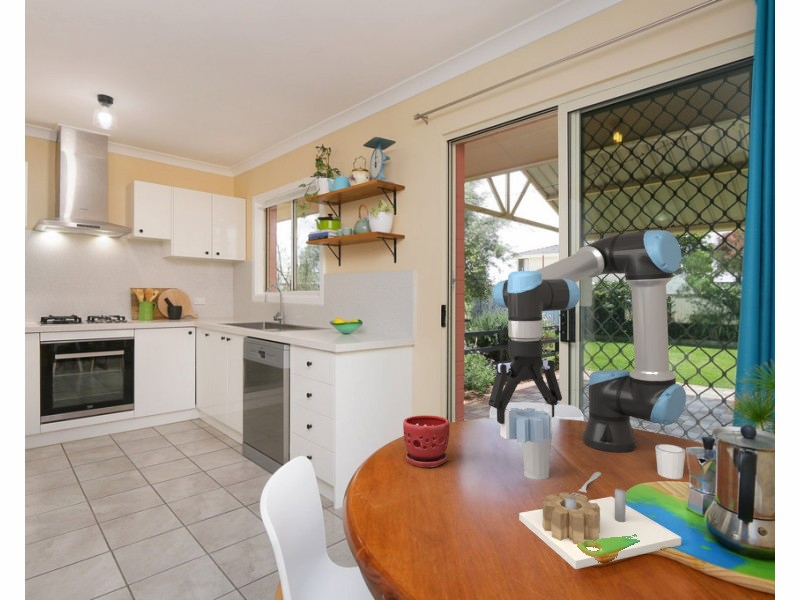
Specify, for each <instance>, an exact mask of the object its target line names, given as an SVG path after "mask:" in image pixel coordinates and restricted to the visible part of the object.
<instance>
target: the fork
mask: <svg viewBox="0 0 800 600" xmlns="http://www.w3.org/2000/svg"><path fill="white" fill-rule="evenodd" d="M601 475H602V472H600V471H596V472H594V473H593V474H592V475H591V476H590V477H589V479H588V480H587V481H586V482H585V483H584V484H583V485H582V486H581V487H580V488H579V489H578V490H577V491H579V492H583V493H585V494H586V493H588V492H587V486H588V485H589V484H590V483H592V482H593V481H595V480H597V479H598V478H599V477H600V476H601ZM569 495H570V496H572V497H575V496H576V497H578V496H579V495H581V496H584V497H587V495H583V494H580V493H576V492H572V493H571V494H570V493H569Z"/></svg>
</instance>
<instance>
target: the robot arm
mask: <svg viewBox="0 0 800 600" xmlns="http://www.w3.org/2000/svg"><path fill="white" fill-rule="evenodd" d="M681 263H682V250H681V246H680V244H679V241H678V240H677V238H676V237H675V235H674V234H672V233H671V232H670V231H668V230H665V229H663V230H662V229H661V230H660V229H659V230H658V229H657V230H656V229H655V230H654V229H653V230H652V229H650V230H645V231H637V232H628V233H619V234H618V233H617V234H613V235H609V236H607V237H604V238H601V239H599V240H596V241H594V242H592V243H589V244H587V245H584V246H582V247H580V248H579V249H578V250H577V251H576V253H575V254H571V255H570V256H567V257H565V258H562V259H560V260H557V261H555V262H553V263H550V264H548V265H546V266H544V267H541V268H539V269H536V270H525V271H524V270H521V271H520V270H519V271H511V272H510V273H509V274H508V276H507V279H505V280H499V281H498V282H497V283H496V284H495V285H494V287H493V290H492V297H493V301H494V303H495V304H496V306H498V307H500V308H504V309H507V327H508V329H507V330H508V332H507V333H508V337H509V340H508V342H507V343H508V347H507V348H508V356H509V359H508V362H506V363H501V362H497V363H496V364H495V367H496V374H495V378H494V382H493V385H492V389H491V392H490V397H489V401H488V405H489V406H491V407H492V408H494V409H496V421H497V423H499V429H500V430H499V432H500V434H499V436H500V437H501V438H503V439H506V440H510V439H509V411H510V410H509V409H508V405H509V403H510V401H511V399H512V397H513V395H514V393H515V391H516V389H517V387H518V385H519V384H521V382H522V381H526V380H533V382H534V384H535V385H536V387H537V389H538V391H539V393H540V394H541V396H542V398H543V400H544V402H543V401H542V402H541V411H545V412H547V413H548V415H549V416H550V425H551V433H552V434H553V418H555V406H557V405H558V401H560V402H561V401H562V400H563V397H562V393H561V392H562V391H561V389H560V386H559V382H558V378H557V376H556V373H555V361H554V360H551V359H547V358H545V359H543V358H542V356H543V341H542V339H541V338H543V337H544V336H543V312H549V311H550V312H551V311H552V312H553V311H554V312H555V311H562V312H563V311H567V310H570V309H573V308H575V307H576V306H577V304H578V303H579V301H580V299H581V298H580V297H581V293H580V292H581V291H580V287H579V285H577V283H578V282H579V281H581V280H584V279H586V278H589V279H590V278H593V279H594V278H596V277H599V276H602V275H609V274H610V275H611V274H612V275H614V274H615V275H617V274H618V275H619V274H621V275H622V274H624V280H625V282H626V283H628V284H629V285H630V288H631V307H632V332H633V333H632V334H633V356H634V357H633V359H634V369H632V371H630V370H627V369H602V370H600V369H599V370H595V371H592V372H591V373H590V375H589V377H588V378H589V381H588V418H587V422H586V425H585V430H584V431H583V434H582V442H583V443H584V444H585V445H586V446H588V447H590V448H592V449H596V450H599V451H603V452H604V451H605V452H612V453H628V452H631V451H634V450H636V448H637V439H636V437H635V434H634V430H633V427H632V424H631V418H635V419H639V420H643V421H648V422H650V423H653V424H660V425H665V426H666V425H667V426H669V425H672V424H674V423H676V422H677V421H678V420H679V419H680V417H681V416H682V414H683V413H684V410H685V407H686V403H687V402H686V401H687V394H686V393H687V392H686V390H685V387H684V386H683V385H681V384H679V383H677V378H676V374H675V373H674V372H672V371H671V370H670V359H669V357H670V355H669V331H668V328H669V327H668V305H667V304H668V301H667V285H668V283H669V282H670V281H671V280H672V279H673V273H675V272H676V271H677V270H679V268H680V266H681ZM541 369H543V373H544V376H543V374H542V373H541ZM509 371H510V373H509ZM508 373H509V375H507V374H508ZM507 376H508V377H507ZM544 378H545V379H546V381H545V380H544ZM506 380H507V381H506ZM546 383H547V384H546Z"/></svg>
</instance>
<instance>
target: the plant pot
mask: <svg viewBox="0 0 800 600" xmlns="http://www.w3.org/2000/svg"><path fill="white" fill-rule="evenodd" d="M402 423H403V424H402V427H403V428H402V429H403V441H404V445H405V448H406V450H407V453H406V454H405V458H406V460H407V461H408V463H410V464H411V465H412V466H415V467H419V468H427V469H431V468H435V467H438V466H441V465H443V464H444V463H445V462H446V461H447V458H448V455H447V453H446V451H447V448H448V445H449V441H450V440H449V439H450V421H449V420H448V419H447V418H446V417H443V416H439V415H425V414H424V415H423V414H421V415H413V416H408V417H406V418H404V420H403V422H402Z"/></svg>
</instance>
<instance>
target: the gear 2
mask: <svg viewBox="0 0 800 600" xmlns="http://www.w3.org/2000/svg"><path fill="white" fill-rule="evenodd" d="M558 494H559V495H553V494H550V493H549V494H548V495H545V496H544V501H542V509H543V528H544V531H551V532H552V537H553V538H555V539H557V540H559V541H561V540H563V539H568V538H569V540H572V542H573V544H578V543H579V542H580V543H584V539H585V540H593V541H596V540H597V539H599V533H600V507H599V506H598V504H597V503H590V502H589V497H587V496H586V497H584V496H585V495H584V496H581V495H582V494H579V495H578V497H577V496H575V497H572V496H573V495H571V496H570V493H569V492H559V493H558ZM567 497H572V498H575V499H576V509H567V508H565V499H566V498H567Z"/></svg>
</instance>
